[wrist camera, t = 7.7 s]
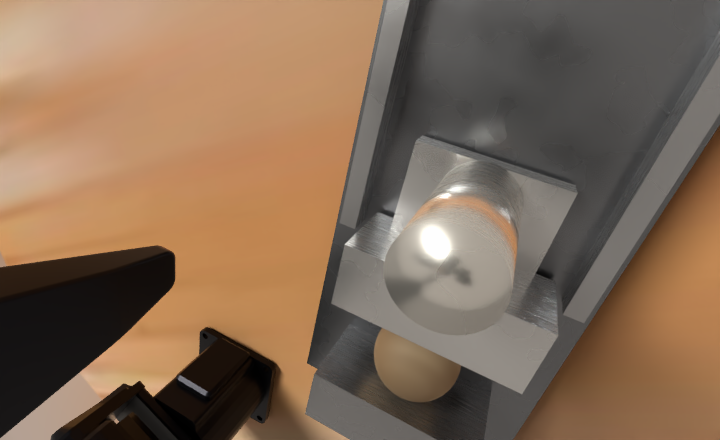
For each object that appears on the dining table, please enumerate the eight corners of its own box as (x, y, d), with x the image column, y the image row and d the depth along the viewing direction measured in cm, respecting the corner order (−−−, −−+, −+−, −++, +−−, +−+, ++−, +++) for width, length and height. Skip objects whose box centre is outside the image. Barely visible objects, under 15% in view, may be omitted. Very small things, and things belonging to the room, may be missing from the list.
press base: (499, 440, 22) (488, 541, 18) (318, 347, 26) (269, 413, 21) (812, -55, 11) (1000, -129, 7) (422, -112, 14) (364, -189, 10)
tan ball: (457, 361, 20) (435, 434, 17) (387, 327, 21) (355, 391, 19) (482, 315, 18) (459, 393, 15) (400, 280, 19) (364, 346, 16)
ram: (525, 334, 17) (516, 486, 11) (364, 264, 19) (283, 360, 13) (605, 191, 14) (654, 298, 8) (400, 125, 16) (315, 170, 10)
